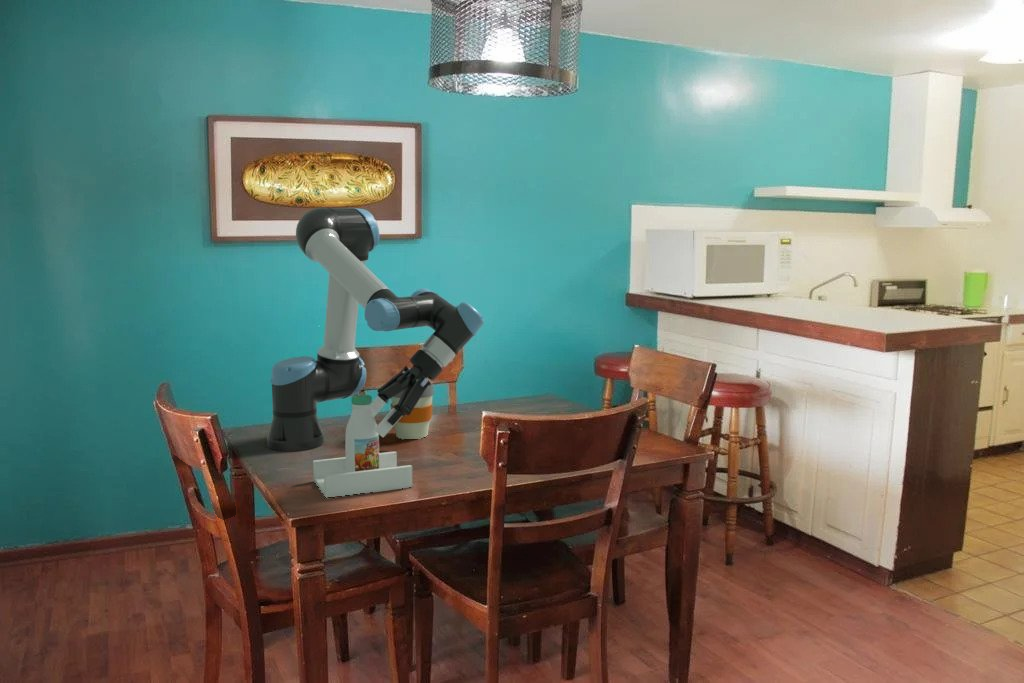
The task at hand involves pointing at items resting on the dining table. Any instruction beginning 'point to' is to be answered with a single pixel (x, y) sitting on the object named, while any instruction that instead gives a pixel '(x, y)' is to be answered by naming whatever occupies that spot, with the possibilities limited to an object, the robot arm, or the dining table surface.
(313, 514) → the dining table surface
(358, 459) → the milk bottle
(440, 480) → the dining table surface
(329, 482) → the duct channel
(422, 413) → the reusable coffee cup
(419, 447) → the dining table surface
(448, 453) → the dining table surface
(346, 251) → the robot arm
